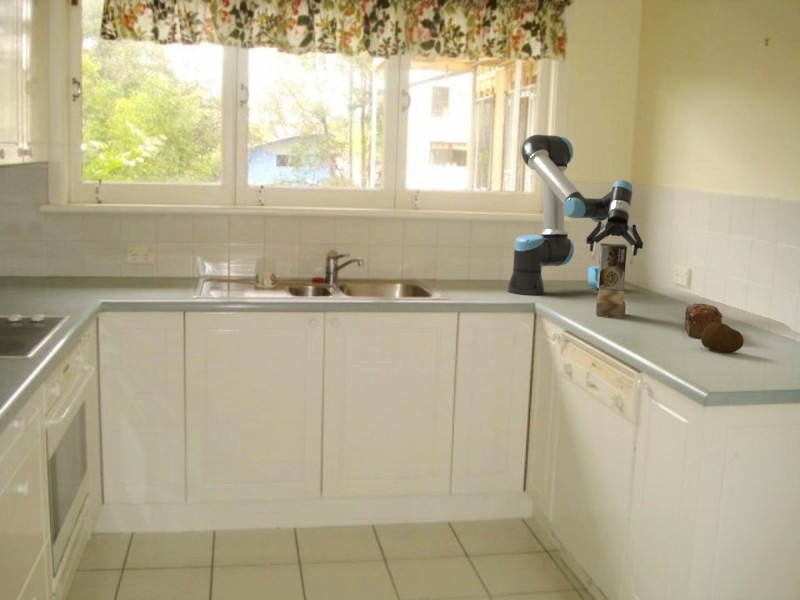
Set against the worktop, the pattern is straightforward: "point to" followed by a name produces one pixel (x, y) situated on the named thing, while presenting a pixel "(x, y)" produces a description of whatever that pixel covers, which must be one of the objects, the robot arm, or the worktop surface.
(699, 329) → the bread
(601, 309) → the tower base
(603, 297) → the tower top
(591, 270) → the teapot
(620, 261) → the coffee box
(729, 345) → the potato
